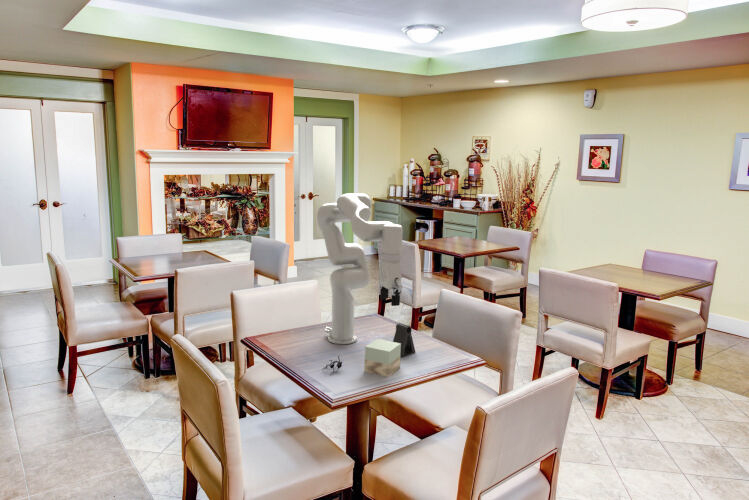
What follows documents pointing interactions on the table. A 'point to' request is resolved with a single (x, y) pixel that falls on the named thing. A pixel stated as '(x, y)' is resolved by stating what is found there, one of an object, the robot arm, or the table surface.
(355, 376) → the table surface
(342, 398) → the table surface
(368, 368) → the tower base
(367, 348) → the tower top
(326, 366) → the creature
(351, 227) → the robot arm
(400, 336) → the phone stand
